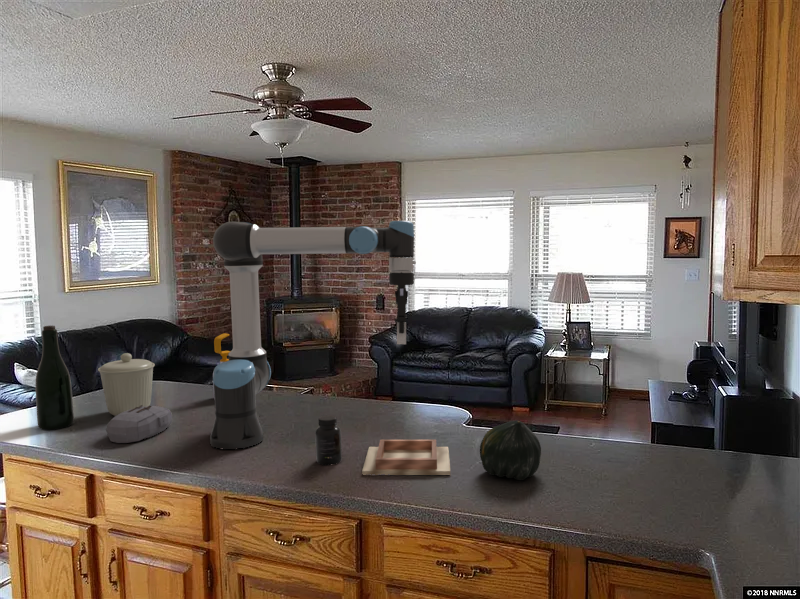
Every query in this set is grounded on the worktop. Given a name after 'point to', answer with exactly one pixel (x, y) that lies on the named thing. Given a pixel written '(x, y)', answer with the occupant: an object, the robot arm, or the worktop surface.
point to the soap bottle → (218, 349)
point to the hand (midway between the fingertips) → (401, 341)
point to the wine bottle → (53, 386)
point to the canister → (127, 383)
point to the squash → (510, 451)
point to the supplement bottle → (328, 441)
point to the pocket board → (407, 458)
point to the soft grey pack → (138, 424)
